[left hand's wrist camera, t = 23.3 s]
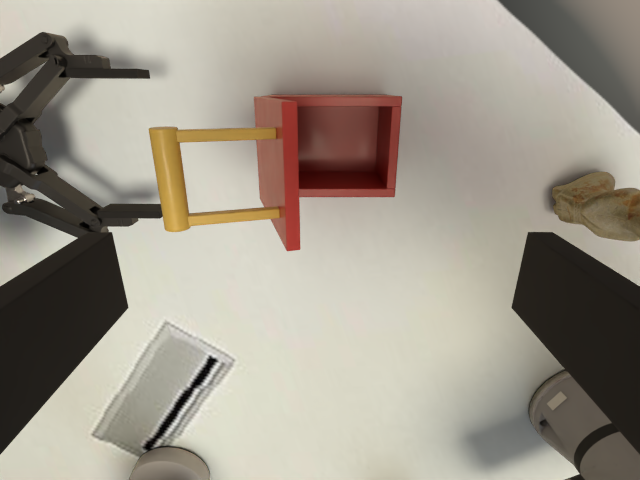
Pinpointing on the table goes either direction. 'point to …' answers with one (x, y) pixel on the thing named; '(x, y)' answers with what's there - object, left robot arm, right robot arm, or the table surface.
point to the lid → (273, 167)
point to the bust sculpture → (170, 466)
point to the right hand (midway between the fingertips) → (155, 146)
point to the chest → (347, 144)
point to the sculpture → (600, 206)
